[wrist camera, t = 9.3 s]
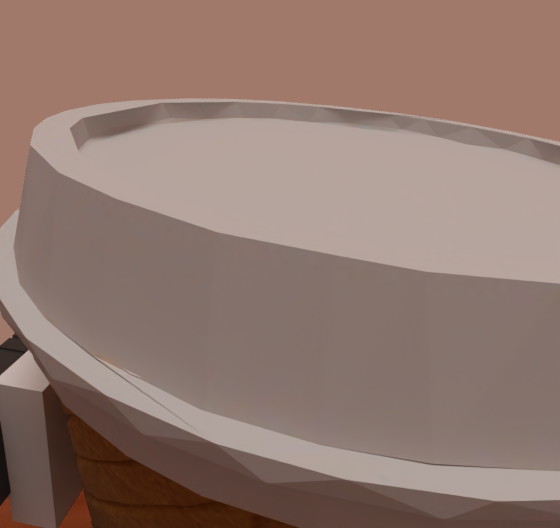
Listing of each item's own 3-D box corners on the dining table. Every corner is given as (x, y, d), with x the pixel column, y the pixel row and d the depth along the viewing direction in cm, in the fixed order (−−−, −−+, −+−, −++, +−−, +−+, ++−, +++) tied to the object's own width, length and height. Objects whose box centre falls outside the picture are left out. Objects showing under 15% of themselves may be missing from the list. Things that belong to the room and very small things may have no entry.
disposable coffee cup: (280, 458, 18) (327, 94, 13) (575, 691, 12) (847, 190, 7) (-21, 668, 11) (-141, 93, 7) (307, 1390, 6) (1168, 914, 1)
